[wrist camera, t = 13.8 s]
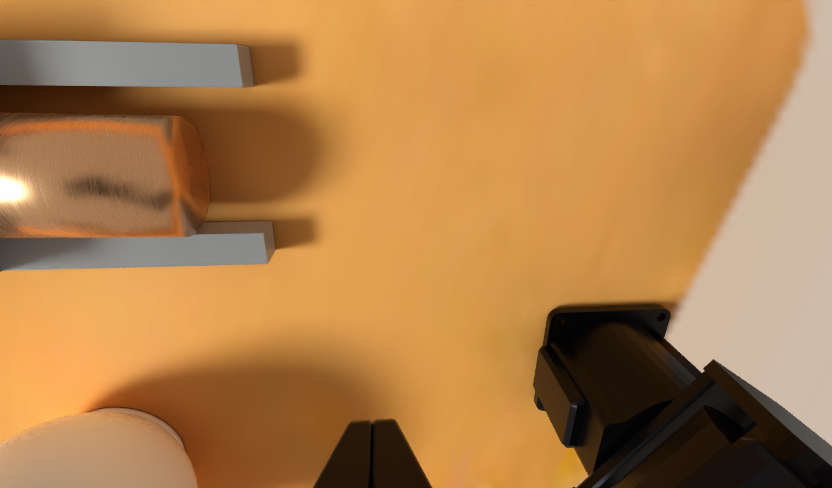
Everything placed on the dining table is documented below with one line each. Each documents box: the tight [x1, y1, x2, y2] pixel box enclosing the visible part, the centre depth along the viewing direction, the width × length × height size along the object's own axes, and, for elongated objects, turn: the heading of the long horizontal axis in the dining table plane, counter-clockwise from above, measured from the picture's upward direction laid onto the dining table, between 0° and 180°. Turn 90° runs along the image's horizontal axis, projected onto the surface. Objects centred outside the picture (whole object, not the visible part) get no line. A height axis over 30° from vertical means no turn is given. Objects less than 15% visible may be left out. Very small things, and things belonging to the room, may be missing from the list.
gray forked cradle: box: [0, 39, 276, 272], centre depth 14 cm, size 13×8×6 cm, turn 89°
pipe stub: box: [0, 112, 210, 238], centre depth 15 cm, size 8×4×4 cm
